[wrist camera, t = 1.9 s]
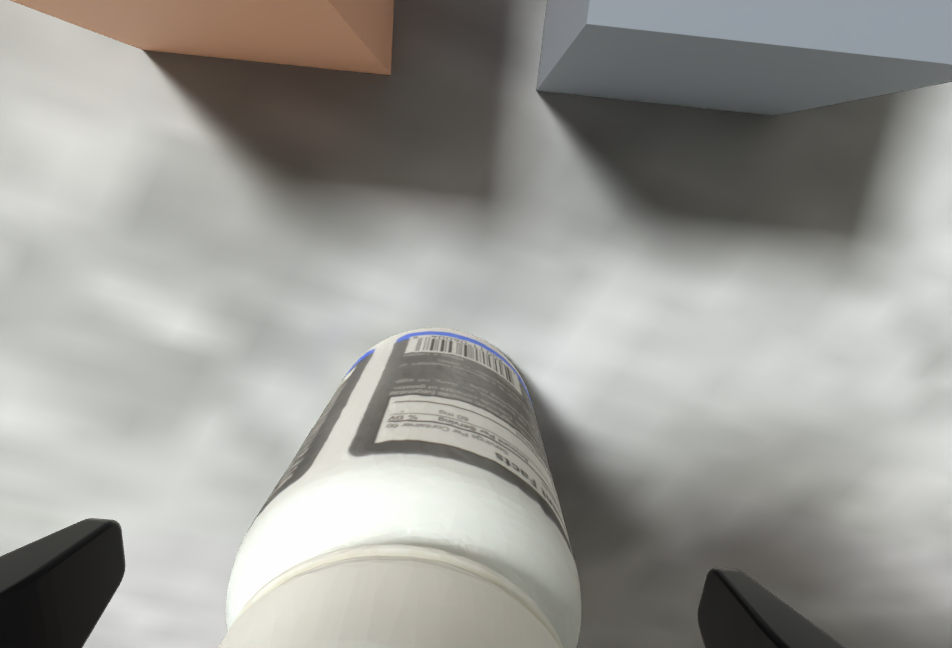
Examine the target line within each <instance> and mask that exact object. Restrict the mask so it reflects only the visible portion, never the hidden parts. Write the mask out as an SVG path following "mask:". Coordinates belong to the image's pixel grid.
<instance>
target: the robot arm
mask: <svg viewBox="0 0 952 648" xmlns="http://www.w3.org/2000/svg"><path fill="white" fill-rule="evenodd" d="M124 572H125V556H124V548H123V539H122V530H121V526H120V524H119V523H118V522H117V521H115V520H108V519H95V518H90V519H85V520H83V521H80V522H78V523H76V524H73V525H71V526H69V527H67V528H64V529H62V530H60V531H57V532H55V533H53V534H51V535H48V536H46V537H44V538H42V539H39V540H37V541H35V542H32V543H30V544H28V545H26V546H23V547H21V548H19V549H16V550H14V551H12V552H10V553H7V554H5V555H3V556H0V648H82V647H83V646H84V644H85V642H86V641H87V639H88V637H89V636H90V634H91V632H92V630H93V629H94V627H95V625H96V624H97V622H98V620H99V619H100V617H101V615H102V614H103V612H104V610H105V609H106V607H107V605H108V603H109V602H110V600H111V598H112V597H113V595H114V593H115V592H116V590H117V588H118V587H119V585H120V583H121V581H122V578H123V576H124ZM698 623H699V628H700V631H701V635H702V638H703V641H704V645H705V648H845V647H844V646H842V645H841V644H840V643H838V642H837V641H836V640H834V639H833V638H832V637H830V636H829V635H827V634H826V633H825V632H823V631H822V630H821V629H819V628H818V627H817V626H815V625H814V624H812V623H811V622H810V621H808V620H807V619H806V618H804V617H803V616H802V615H800V614H799V613H797V612H796V611H795V610H793V609H792V608H791V607H789V606H788V605H787V604H785V603H784V602H783V601H781V600H780V599H778V598H777V597H776V596H774V595H773V594H772V593H770V592H769V591H768V590H766V589H765V588H763V587H762V586H761V585H759V584H758V583H757V582H755V581H754V580H753V579H751V578H750V577H748V576H747V575H746V574H744V573H743V572H741V571H740V570H737V569H729V568H712V569H711V570H710V571H709V572H708V575H707V578H706V581H705V585H704V589H703V593H702V596H701V600H700V604H699V608H698Z"/></svg>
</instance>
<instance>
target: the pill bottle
mask: <svg viewBox="0 0 952 648" xmlns="http://www.w3.org/2000/svg"><path fill="white" fill-rule="evenodd" d="M581 613H582V607H581V587H580V582H579V577H578V571H577V567H576V563H575V559H574V556H573V553H572V549H571V545H570V541H569V537H568V533H567V530H566V526H565V523H564V519H563V515H562V511H561V508H560V504H559V500H558V496H557V493H556V489H555V486H554V482H553V478H552V475H551V471H550V468H549V464H548V461H547V457H546V453H545V449H544V445H543V441H542V439H541V435H540V431H539V428H538V424H537V420H536V416H535V413H534V409H533V405H532V401H531V398H530V395H529V392H528V390H527V387H526V385H525V383H524V381H523V379H522V377H521V376H520V374H519V373H518V371H517V370H516V368H515V367H514V365H513V364H512V363H511V362H510V361H509V360H508V359H507V358H506V357H505V356H504V355H503V354H502V353H501V352H500V351H499V350H498V349H496V348H495V347H494V346H493V345H491V344H489V343H487V342H486V341H484V340H482V339H480V338H478V337H476V336H473V335H470V334H468V333H465V332H462V331H458V330H454V329H448V328H424V329H416V330H411V331H407V332H403V333H400V334H397V335H394V336H392V337H389V338H387V339H385V340H383V341H382V342H380V343H378V344H377V345H375V346H373V347H372V348H370V349H369V350H368V351H367V352H365V353H364V354H363V355H362V356H361V357H360V358H359V359H358V361H357V362H356V363H355V364H354V365H353V366H352V368H351V369H350V370H349V372H348V373H347V374H346V376H345V377H344V379H343V380H342V382H341V384H340V385H339V387H338V388H337V390H336V392H335V393H334V395H333V397H332V398H331V400H330V402H329V404H328V405H327V407H326V408H325V410H324V411H323V413H322V414H321V416H320V418H319V419H318V421H317V423H316V424H315V426H314V427H313V428H312V429H311V431H310V433H309V435H308V437H307V438H306V439H305V441H304V443H303V444H302V446H301V448H300V449H299V451H298V453H297V454H296V456H295V458H294V459H293V461H292V462H291V464H290V466H289V467H288V469H287V470H286V472H285V473H284V475H283V476H282V478H281V479H280V481H279V482H278V484H277V485H276V487H275V488H274V490H273V492H272V493H271V495H270V497H269V498H268V500H267V501H266V503H265V504H264V506H263V508H262V509H261V511H260V512H259V514H258V515H257V517H256V518H255V520H254V521H253V523H252V525H251V527H250V528H249V530H248V532H247V533H246V535H245V537H244V539H243V542H242V544H241V547H240V549H239V551H238V554H237V557H236V560H235V563H234V566H233V569H232V572H231V576H230V580H229V584H228V591H227V598H226V626H227V634H226V635H225V637H224V638H223V640H222V642H221V643H220V645H219V647H218V648H577V644H578V639H579V634H580V628H581Z"/></svg>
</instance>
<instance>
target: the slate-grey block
mask: <svg viewBox="0 0 952 648" xmlns="http://www.w3.org/2000/svg"><path fill="white" fill-rule="evenodd" d="M947 82H952V0H547V5H546V13H545V22H544V30H543V38H542V47H541V55H540V64H539V72H538V80H537V89H536V91H546V92H555V93H564V94H574V95H583V96H593V97H602V98H611V99H621V100H630V101H640V102H649V103H659V104H668V105H677V106H687V107H696V108H706V109H715V110H724V111H734V112H743V113H753V114H762V115H771V116H775V115H780V114H786V113H791V112H796V111H801V110H806V109H812V108H817V107H822V106H827V105H833V104H838V103H843V102H848V101H853V100H859V99H864V98H869V97H874V96H880V95H885V94H890V93H895V92H900V91H906V90H911V89H916V88H921V87H927V86H932V85H937V84H942V83H947Z"/></svg>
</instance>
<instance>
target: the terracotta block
mask: <svg viewBox="0 0 952 648" xmlns="http://www.w3.org/2000/svg"><path fill="white" fill-rule="evenodd" d="M11 1H13V2H16V3H19V4H21V5H24V6H27V7H29V8H32V9H35V10H37V11H40V12H43V13H45V14H48V15H51V16H53V17H56V18H59V19H61V20H64V21H67V22H69V23H72V24H75V25H77V26H80V27H83V28H85V29H88V30H91V31H94V32H96V33H99V34H102V35H104V36H107V37H110V38H112V39H115V40H118V41H120V42H123V43H126V44H128V45H131V46H134V47H136V48H139V49H142V50H149V51H159V52H168V53H178V54H188V55H198V56H207V57H217V58H227V59H237V60H246V61H256V62H266V63H276V64H285V65H295V66H305V67H315V68H324V69H334V70H344V71H354V72H363V73H373V74H383V75H391V62H392V39H393V16H394V0H11Z"/></svg>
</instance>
